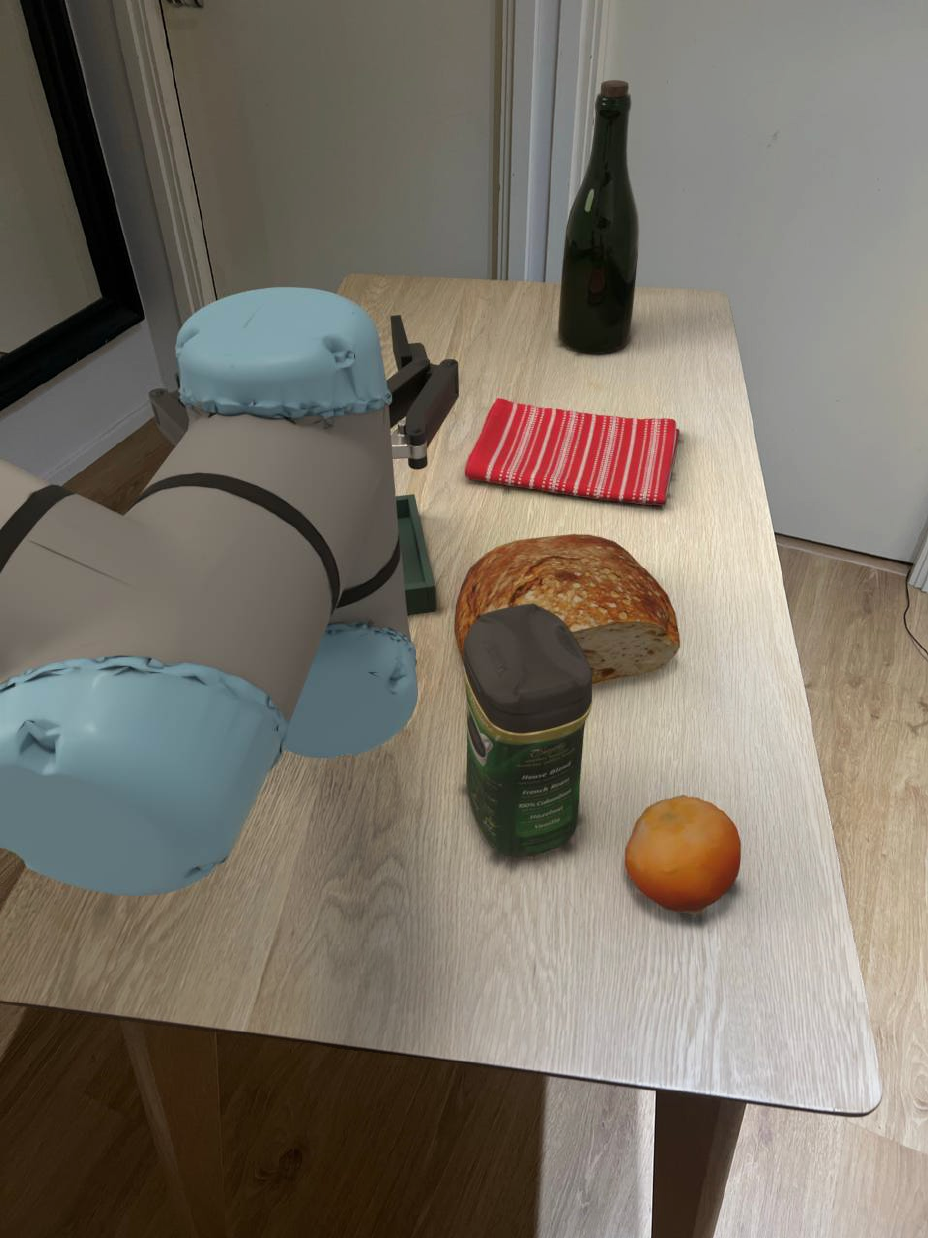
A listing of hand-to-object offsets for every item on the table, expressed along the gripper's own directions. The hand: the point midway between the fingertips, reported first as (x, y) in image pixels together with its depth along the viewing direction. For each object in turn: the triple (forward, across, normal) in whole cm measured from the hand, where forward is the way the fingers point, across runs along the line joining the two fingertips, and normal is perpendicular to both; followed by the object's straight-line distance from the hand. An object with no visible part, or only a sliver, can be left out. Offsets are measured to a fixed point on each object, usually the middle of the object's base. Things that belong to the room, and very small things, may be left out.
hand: (304, 341), depth 65 cm
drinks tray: (+10, 0, -30) cm, 32 cm away
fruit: (-30, +22, -30) cm, 48 cm away
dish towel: (+26, +29, -30) cm, 49 cm away
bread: (-3, +20, -30) cm, 36 cm away
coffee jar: (-22, +12, -30) cm, 39 cm away
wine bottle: (+56, +40, -30) cm, 75 cm away
